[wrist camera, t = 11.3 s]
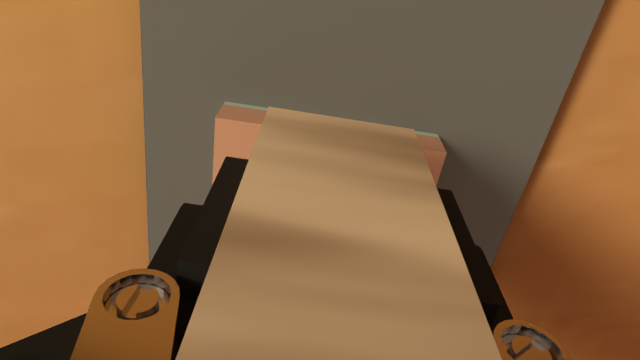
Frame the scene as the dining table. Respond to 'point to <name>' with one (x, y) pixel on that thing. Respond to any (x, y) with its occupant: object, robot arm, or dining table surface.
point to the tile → (245, 122)
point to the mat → (363, 85)
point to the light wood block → (337, 254)
